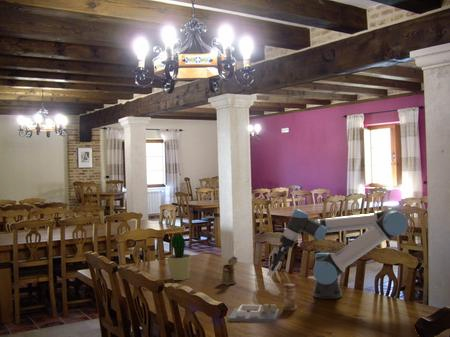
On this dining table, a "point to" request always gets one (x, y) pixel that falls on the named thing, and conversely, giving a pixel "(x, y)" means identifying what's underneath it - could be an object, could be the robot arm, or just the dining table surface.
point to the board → (255, 313)
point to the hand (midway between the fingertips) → (271, 273)
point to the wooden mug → (229, 272)
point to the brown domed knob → (289, 297)
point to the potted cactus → (179, 259)
